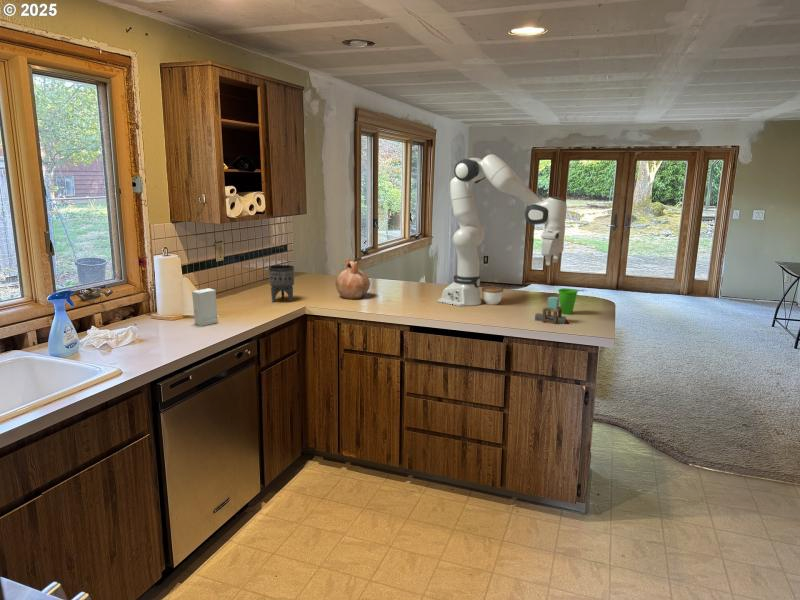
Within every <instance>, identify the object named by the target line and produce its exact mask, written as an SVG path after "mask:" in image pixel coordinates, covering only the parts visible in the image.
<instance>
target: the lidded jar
mask: <svg viewBox="0 0 800 600" xmlns="http://www.w3.org/2000/svg"><path fill="white" fill-rule="evenodd" d="M481 296H482V297H481V298H482V299H483V301H484V302H485V303H486V304H487V305H493V306H495V305H499V303H500V302H501V301H502V299H503V296H504V288H503V287H498V286H495V285H491V286H483V287H482V288H481Z"/></svg>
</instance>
